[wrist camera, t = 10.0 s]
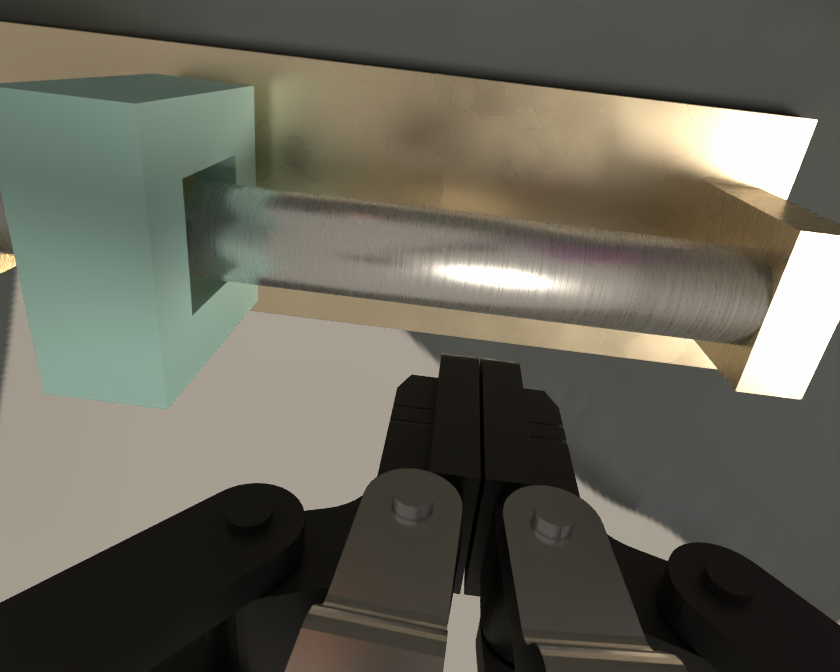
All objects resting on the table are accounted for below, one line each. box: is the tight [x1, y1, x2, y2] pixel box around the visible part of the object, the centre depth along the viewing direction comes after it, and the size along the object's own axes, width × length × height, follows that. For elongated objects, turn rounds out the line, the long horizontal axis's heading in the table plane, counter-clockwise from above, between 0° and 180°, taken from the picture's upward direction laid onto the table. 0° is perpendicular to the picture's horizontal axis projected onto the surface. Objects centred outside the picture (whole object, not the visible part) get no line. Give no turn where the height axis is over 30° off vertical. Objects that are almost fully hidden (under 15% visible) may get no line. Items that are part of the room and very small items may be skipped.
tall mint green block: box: [0, 73, 258, 409], centre depth 18 cm, size 4×8×8 cm, turn 174°
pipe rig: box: [0, 21, 840, 399], centre depth 20 cm, size 30×10×8 cm, turn 84°
